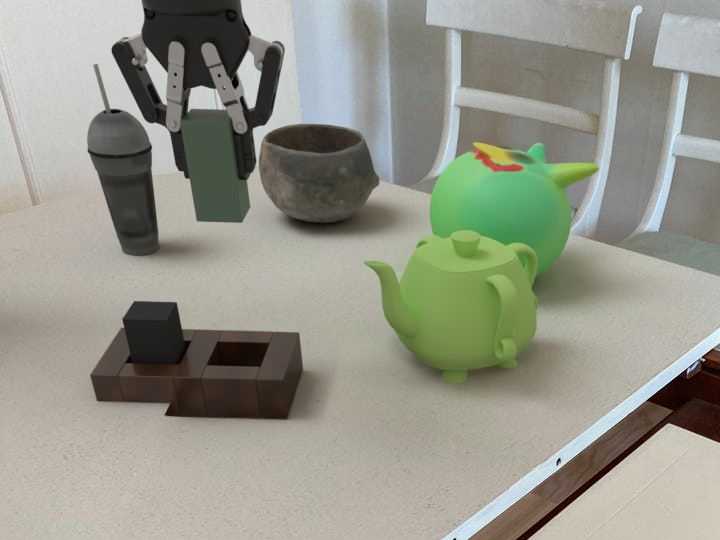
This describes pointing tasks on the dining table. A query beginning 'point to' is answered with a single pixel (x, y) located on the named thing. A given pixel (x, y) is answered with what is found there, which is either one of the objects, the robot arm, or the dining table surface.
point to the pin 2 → (213, 167)
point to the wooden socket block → (209, 375)
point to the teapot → (462, 302)
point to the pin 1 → (154, 333)
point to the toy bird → (508, 198)
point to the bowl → (317, 171)
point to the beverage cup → (125, 175)
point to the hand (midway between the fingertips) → (217, 175)
